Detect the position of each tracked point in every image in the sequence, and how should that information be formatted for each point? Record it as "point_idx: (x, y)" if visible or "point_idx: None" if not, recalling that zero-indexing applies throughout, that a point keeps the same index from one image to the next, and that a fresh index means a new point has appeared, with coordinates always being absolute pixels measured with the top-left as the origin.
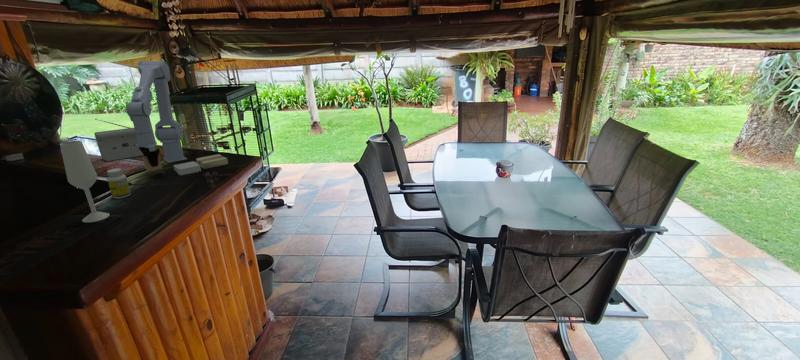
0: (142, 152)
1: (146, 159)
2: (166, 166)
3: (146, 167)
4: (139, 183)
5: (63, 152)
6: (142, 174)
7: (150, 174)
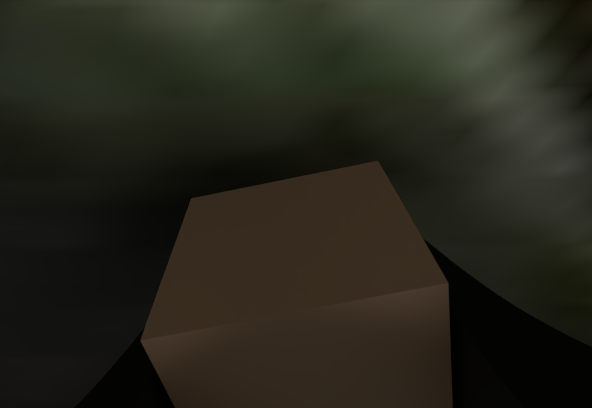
0: (512, 391)
1: (153, 352)
2: (553, 291)
3: (256, 205)
4: (11, 44)
5: None
6: (421, 73)
7: (355, 158)
